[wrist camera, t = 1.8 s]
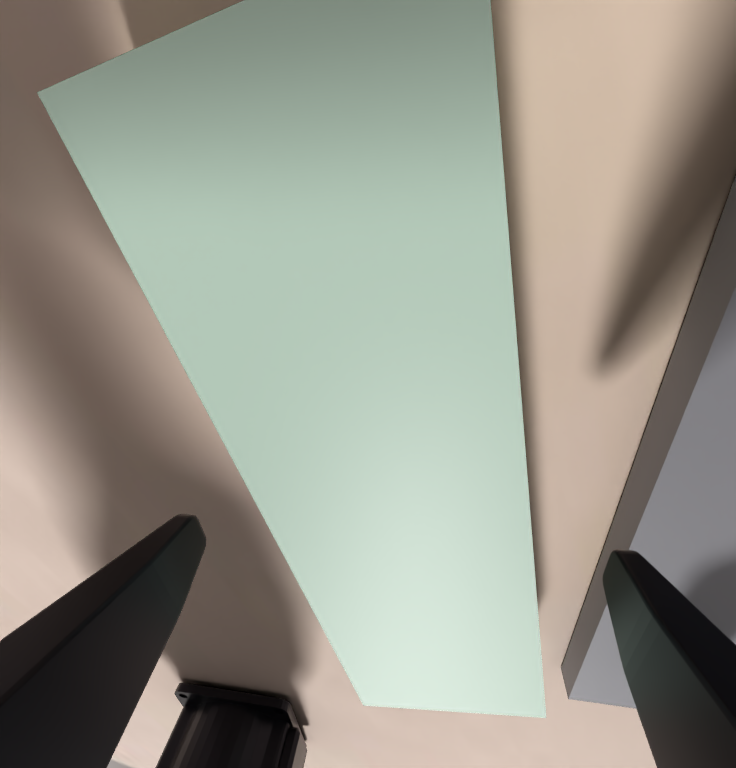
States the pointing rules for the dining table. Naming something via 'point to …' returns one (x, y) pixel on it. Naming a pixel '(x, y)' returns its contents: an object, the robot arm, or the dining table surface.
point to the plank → (343, 313)
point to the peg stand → (677, 482)
